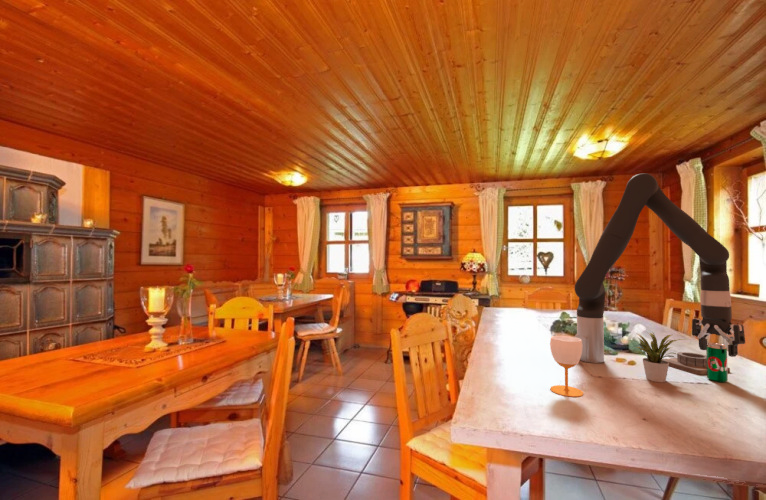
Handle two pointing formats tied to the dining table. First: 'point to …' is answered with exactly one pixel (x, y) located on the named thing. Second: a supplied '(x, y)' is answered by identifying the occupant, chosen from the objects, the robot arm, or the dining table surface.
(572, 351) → the cup
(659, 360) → the house plant
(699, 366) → the can holder
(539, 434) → the dining table surface
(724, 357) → the soda can
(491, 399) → the dining table surface
